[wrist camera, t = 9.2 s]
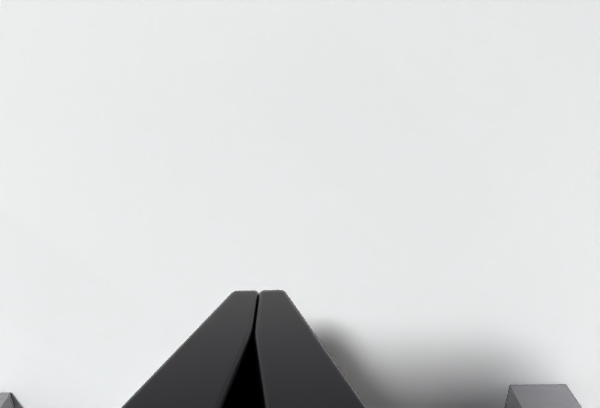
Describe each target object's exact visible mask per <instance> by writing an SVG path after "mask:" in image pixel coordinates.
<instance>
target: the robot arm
mask: <svg viewBox="0 0 600 408" xmlns="http://www.w3.org/2000/svg"><path fill="white" fill-rule="evenodd" d="M122 408H367V407H366V406H365V404H364V403H363V402H362V400H361V399H360V397H359V396H358V394H357V393H356V392H355V390H354V389H353V387H352V386H351V384H350V383H349V382H348V380H347V379H346V377H345V376H344V375H343V373H342V372H341V370H340V369H339V367H338V366H337V365H336V363H335V362H334V360H333V359H332V357H331V356H330V355H329V353H328V352H327V350H326V349H325V348H324V346H323V345H322V343H321V342H320V340H319V339H318V338H317V336H316V335H315V333H314V332H313V331H312V329H311V328H310V326H309V325H308V323H307V322H306V321H305V319H304V318H303V316H302V315H301V313H300V312H299V311H298V309H297V308H296V306H295V305H294V304H293V302H292V301H291V299H290V298H289V296H288V295H287V294H286V292H285V291H283V290H263V291H261V292H260V293H259V294H258V292H257V291H234V292H233V293H231V294H230V295H229V296H228V297H227V299H226V300H225V301H224V302H223V303H222V304H221V305H220V306H219V307H218V308H217V309H216V310H215V311H214V312H213V313H212V314H211V315H210V316H209V317H208V318H207V319H206V320H205V321H204V322H203V323H202V325H201V326H200V327H199V328H198V329H197V330H196V331H195V332H194V333H193V334H192V335H191V336H190V337H189V338H188V339H187V340H186V341H185V342H184V343H183V344H182V345H181V346H180V347H179V348H178V349H177V350H176V352H175V353H174V354H173V355H172V356H171V357H170V358H169V359H168V360H167V361H166V362H165V363H164V364H163V365H162V366H161V367H160V368H159V369H158V370H157V371H156V372H155V373H154V374H153V375H152V376H151V377H150V379H149V380H148V381H147V382H146V383H145V384H144V385H143V386H142V387H141V388H140V389H139V390H138V391H137V392H136V393H135V394H134V395H133V396H132V397H131V398H130V399H129V400H128V401H127V402H126V403H125V405H124V406H123V407H122Z"/></svg>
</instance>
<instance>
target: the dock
mask: <svg viewBox="0 0 600 408" xmlns="http://www.w3.org/2000/svg"><path fill="white" fill-rule="evenodd" d="M0 408H14V405H13V401H12V398H11V394H10V393H0ZM505 408H582V407H581V406H580V404H579V403H578V401H577V400H576V398H575V397H574V395H573V394H572V393H571V391H570V390H569V388H568V387H567V385H566V384H558V385H510V387H509V392H508V396H507V401H506V406H505Z"/></svg>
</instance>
